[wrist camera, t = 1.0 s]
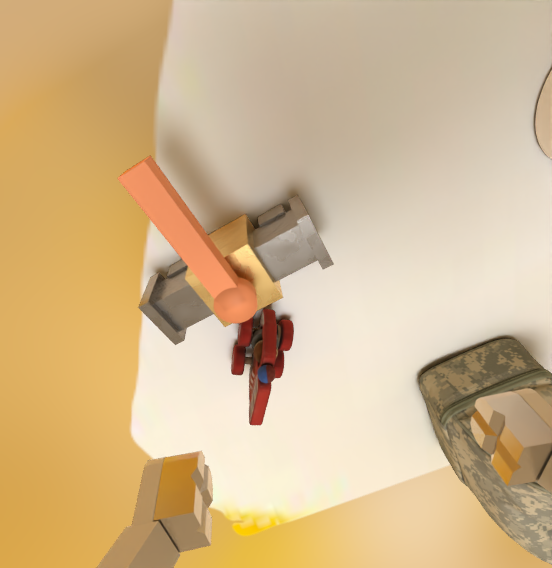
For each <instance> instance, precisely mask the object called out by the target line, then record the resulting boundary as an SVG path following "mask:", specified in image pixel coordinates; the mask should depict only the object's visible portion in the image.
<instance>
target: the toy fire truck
mask: <svg viewBox="0 0 552 568" xmlns="http://www.w3.org/2000/svg"><path fill="white" fill-rule="evenodd" d="M293 334H294V328H293V323H292V321H290V320H284V319H283V320H280V321H279V324H278V325H277V323H276V315H275V311H274V310H270V309H263V311H262V315H261V320H260V324H259V326H258V328H253V317H252V318H250V319H249V320H247V321H245V322H242V323H240V324H239V330H238V345H235V346H234V349H233V355H232V365H231V372H232V374H233V375H242V374H243V371H244V365H245V364H251V367H250V373H249V400H250V406H249V423H250V425H261V424H262V422H263V418H264V414H265V410H266V407H267V403H268V399H269V395H270V391H271V382H272V381H273V380H274V378H280V377H281V376H282V373H283V369H284V353H283V351H288V350H290V348H291V346H292V342H293ZM250 344H251V345H252V348H253V349H254V352H253V355H252V357H245V353H246V347H249V346H250Z"/></svg>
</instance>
